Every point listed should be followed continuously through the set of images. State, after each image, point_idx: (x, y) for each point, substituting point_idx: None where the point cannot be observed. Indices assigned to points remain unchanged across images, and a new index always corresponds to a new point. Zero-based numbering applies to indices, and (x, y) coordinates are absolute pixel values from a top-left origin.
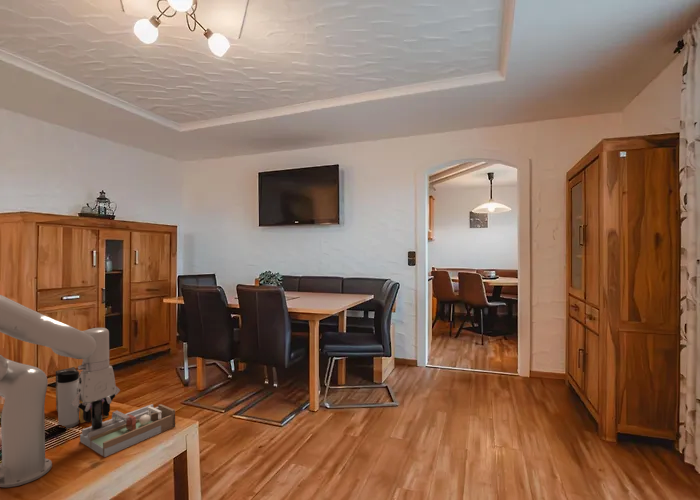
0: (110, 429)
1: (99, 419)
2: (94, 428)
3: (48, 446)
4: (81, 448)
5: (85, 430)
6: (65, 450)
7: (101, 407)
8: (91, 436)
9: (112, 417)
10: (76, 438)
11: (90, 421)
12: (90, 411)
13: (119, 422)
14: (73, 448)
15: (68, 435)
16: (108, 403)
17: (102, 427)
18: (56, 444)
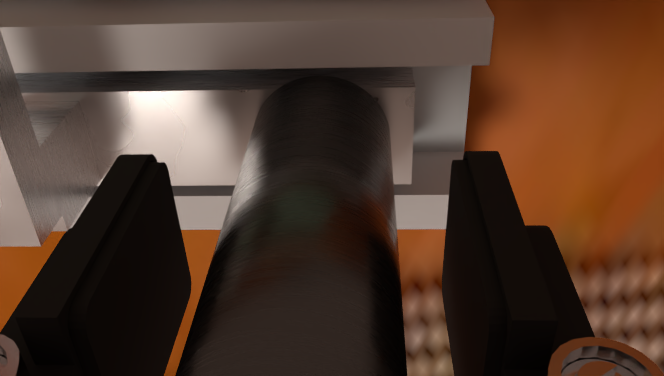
0: (180, 5)
1: (299, 148)
2: (376, 104)
3: (636, 305)
4: (520, 17)
5: (445, 188)
6: (625, 116)
7: (210, 320)
8: (451, 1)
9: (78, 191)
10: (431, 264)
11: (469, 154)
12: (510, 298)
13: (24, 25)
14: (561, 92)
15: (441, 357)
16: (10, 349)
17: (266, 82)
18: (584, 290)
